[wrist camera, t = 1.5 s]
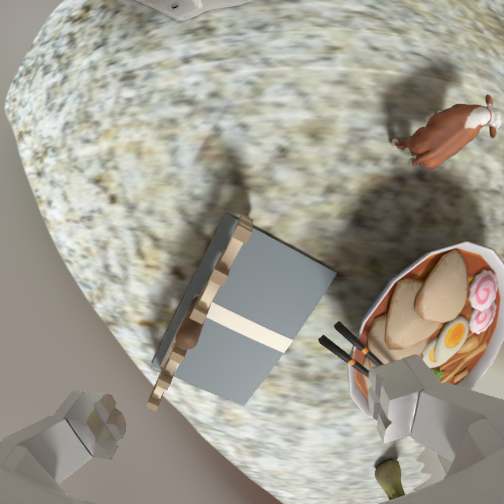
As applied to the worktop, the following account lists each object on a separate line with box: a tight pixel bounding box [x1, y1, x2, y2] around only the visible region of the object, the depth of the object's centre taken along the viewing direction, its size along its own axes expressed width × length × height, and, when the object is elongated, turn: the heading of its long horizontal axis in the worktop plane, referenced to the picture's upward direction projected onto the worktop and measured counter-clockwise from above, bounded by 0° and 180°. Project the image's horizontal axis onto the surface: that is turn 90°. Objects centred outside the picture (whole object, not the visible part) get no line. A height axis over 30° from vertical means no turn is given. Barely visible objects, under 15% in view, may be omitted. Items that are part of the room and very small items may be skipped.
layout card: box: [152, 213, 337, 406], centre depth 32 cm, size 13×21×1 cm, turn 152°
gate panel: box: [190, 214, 253, 324], centre depth 26 cm, size 9×1×6 cm, turn 152°
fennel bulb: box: [375, 460, 405, 500], centre depth 35 cm, size 6×5×12 cm
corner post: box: [175, 297, 206, 349], centre depth 28 cm, size 2×2×8 cm
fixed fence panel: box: [146, 343, 187, 411], centre depth 29 cm, size 9×1×7 cm, turn 152°
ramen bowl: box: [318, 241, 504, 420], centre depth 28 cm, size 25×23×8 cm
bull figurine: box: [391, 95, 501, 169], centre depth 22 cm, size 4×13×8 cm, turn 120°
